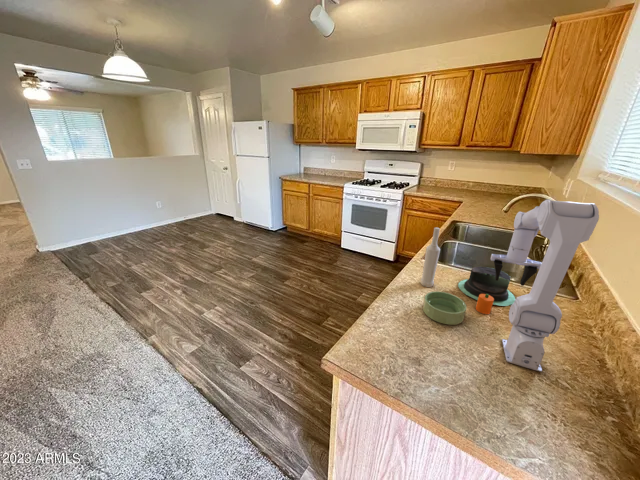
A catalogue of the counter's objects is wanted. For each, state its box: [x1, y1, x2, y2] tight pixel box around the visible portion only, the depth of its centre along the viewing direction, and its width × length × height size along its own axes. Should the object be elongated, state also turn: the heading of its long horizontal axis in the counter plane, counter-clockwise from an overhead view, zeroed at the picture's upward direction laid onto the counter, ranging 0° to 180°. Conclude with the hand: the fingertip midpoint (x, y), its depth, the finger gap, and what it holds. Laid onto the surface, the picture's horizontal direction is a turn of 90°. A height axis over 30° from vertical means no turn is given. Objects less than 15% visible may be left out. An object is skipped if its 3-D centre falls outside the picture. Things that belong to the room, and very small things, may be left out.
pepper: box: [475, 294, 494, 315], centre depth 94 cm, size 5×5×7 cm
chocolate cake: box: [457, 266, 516, 307], centre depth 106 cm, size 15×19×20 cm
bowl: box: [422, 290, 468, 326], centre depth 92 cm, size 13×13×5 cm
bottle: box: [420, 227, 441, 288], centre depth 107 cm, size 5×5×25 cm
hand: (508, 281), depth 95 cm, fingers open, 7 cm apart
